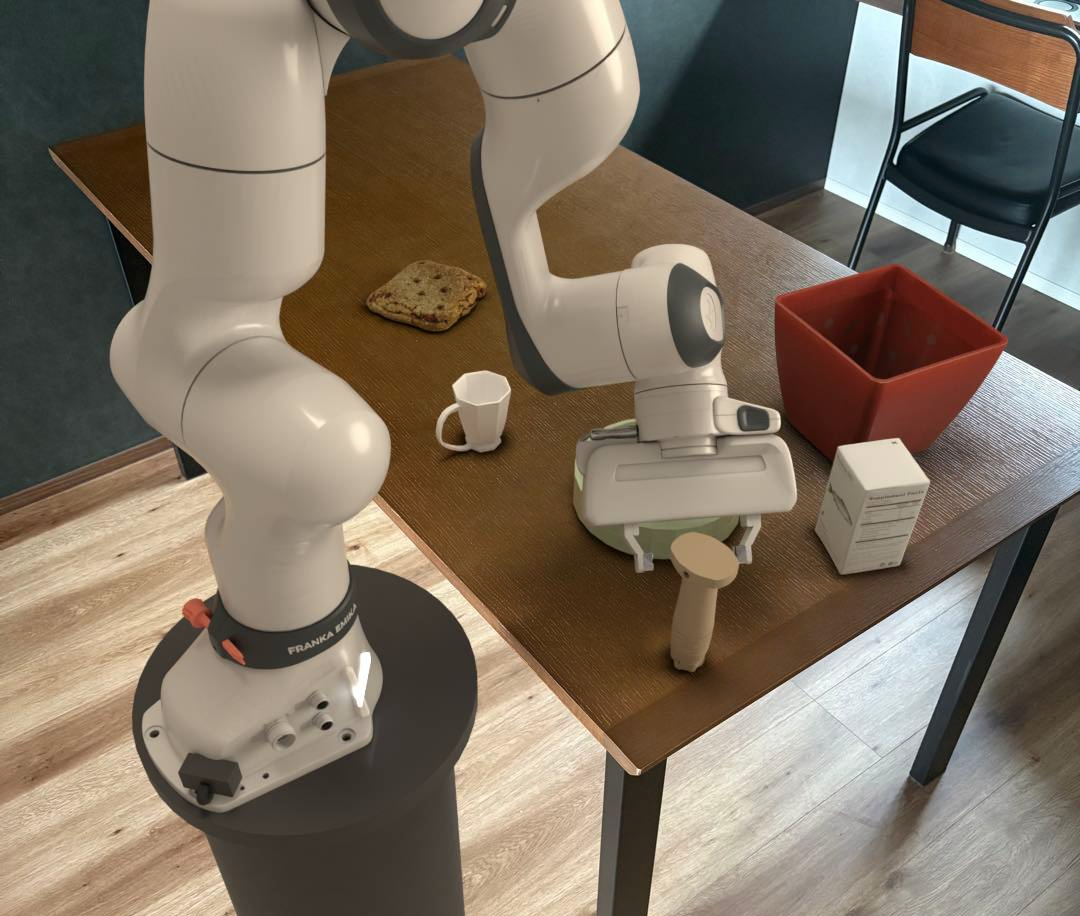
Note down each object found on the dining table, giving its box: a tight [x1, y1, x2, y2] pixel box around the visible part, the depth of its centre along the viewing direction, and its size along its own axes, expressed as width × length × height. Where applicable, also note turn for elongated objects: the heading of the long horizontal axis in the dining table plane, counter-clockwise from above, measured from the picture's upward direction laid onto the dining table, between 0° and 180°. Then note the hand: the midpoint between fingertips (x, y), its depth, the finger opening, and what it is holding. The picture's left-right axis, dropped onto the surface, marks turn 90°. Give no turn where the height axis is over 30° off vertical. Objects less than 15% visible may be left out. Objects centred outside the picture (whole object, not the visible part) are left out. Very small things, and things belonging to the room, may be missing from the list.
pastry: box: [365, 259, 488, 332], centre depth 153 cm, size 17×17×3 cm
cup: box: [435, 369, 512, 453], centre depth 129 cm, size 7×10×8 cm
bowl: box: [572, 418, 740, 560], centre depth 123 cm, size 19×19×5 cm
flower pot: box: [774, 263, 1009, 464], centre depth 128 cm, size 19×19×17 cm
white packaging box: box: [814, 438, 931, 575], centre depth 115 cm, size 7×7×13 cm
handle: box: [669, 532, 740, 673], centre depth 103 cm, size 5×6×15 cm
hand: (693, 568), depth 102 cm, fingers open, 8 cm apart
